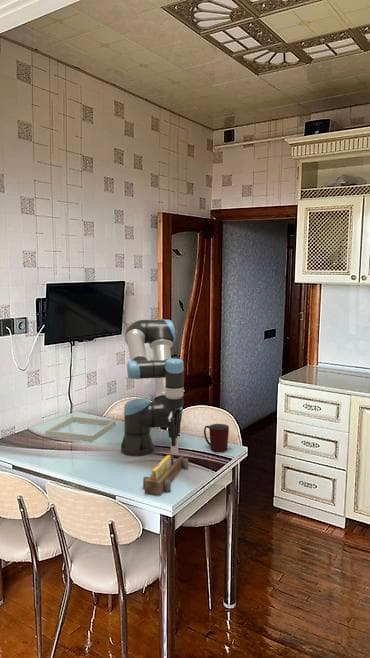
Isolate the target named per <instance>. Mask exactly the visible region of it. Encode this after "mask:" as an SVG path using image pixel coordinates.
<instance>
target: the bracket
mask: <svg viewBox="0 0 370 658" xmlns="http://www.w3.org/2000/svg"><path fill="white" fill-rule="evenodd" d="M170 455H171V467H170V468H169V469H168V470H167V472H166V473H165V474H164V475H163V476H162V477H161V478H160V480H159V481H158V480H152V474H150V476H144V477H143V478H142V483H143V485H142V486H143V487H142V488H143V490H144V494H145V495H151V496H159V497H161V496H162V495H163V493H171V491H172V490H171V487H172V486H171V483H172V482H173V481H174V480H175V478H176V477H177V475H179V473H181V470H184V471H185V470H188V469H189V459H188V458H187V457H184V456H178V458H177V459H176V460H175V461H174V455H173V454H170ZM166 456H167V455H163V457H162V460H163V459H164V458H165V457H166Z"/></svg>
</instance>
